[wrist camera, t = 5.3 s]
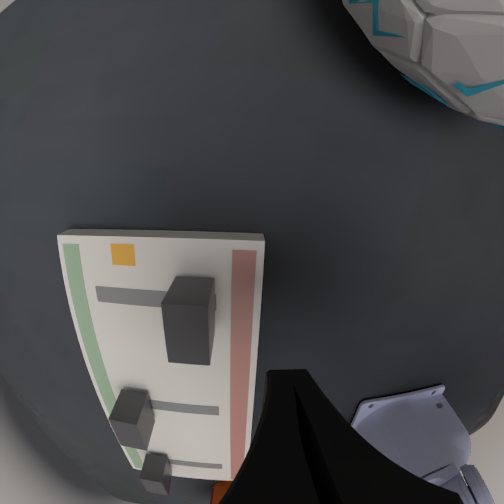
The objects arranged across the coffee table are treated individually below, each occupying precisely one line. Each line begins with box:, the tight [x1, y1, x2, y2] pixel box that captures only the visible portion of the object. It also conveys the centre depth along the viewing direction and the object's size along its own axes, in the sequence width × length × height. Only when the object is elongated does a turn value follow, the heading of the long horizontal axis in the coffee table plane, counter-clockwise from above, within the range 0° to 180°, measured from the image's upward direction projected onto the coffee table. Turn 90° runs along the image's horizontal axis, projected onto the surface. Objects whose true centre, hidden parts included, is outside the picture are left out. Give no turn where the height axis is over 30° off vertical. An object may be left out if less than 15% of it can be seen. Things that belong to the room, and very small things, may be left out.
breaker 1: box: [108, 389, 155, 451], centre depth 16 cm, size 2×3×3 cm, turn 177°
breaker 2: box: [139, 453, 172, 495], centre depth 19 cm, size 2×3×3 cm, turn 177°
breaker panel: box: [57, 229, 265, 481], centre depth 19 cm, size 12×25×2 cm, turn 177°
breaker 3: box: [161, 276, 215, 366], centre depth 13 cm, size 2×3×3 cm, turn 177°
